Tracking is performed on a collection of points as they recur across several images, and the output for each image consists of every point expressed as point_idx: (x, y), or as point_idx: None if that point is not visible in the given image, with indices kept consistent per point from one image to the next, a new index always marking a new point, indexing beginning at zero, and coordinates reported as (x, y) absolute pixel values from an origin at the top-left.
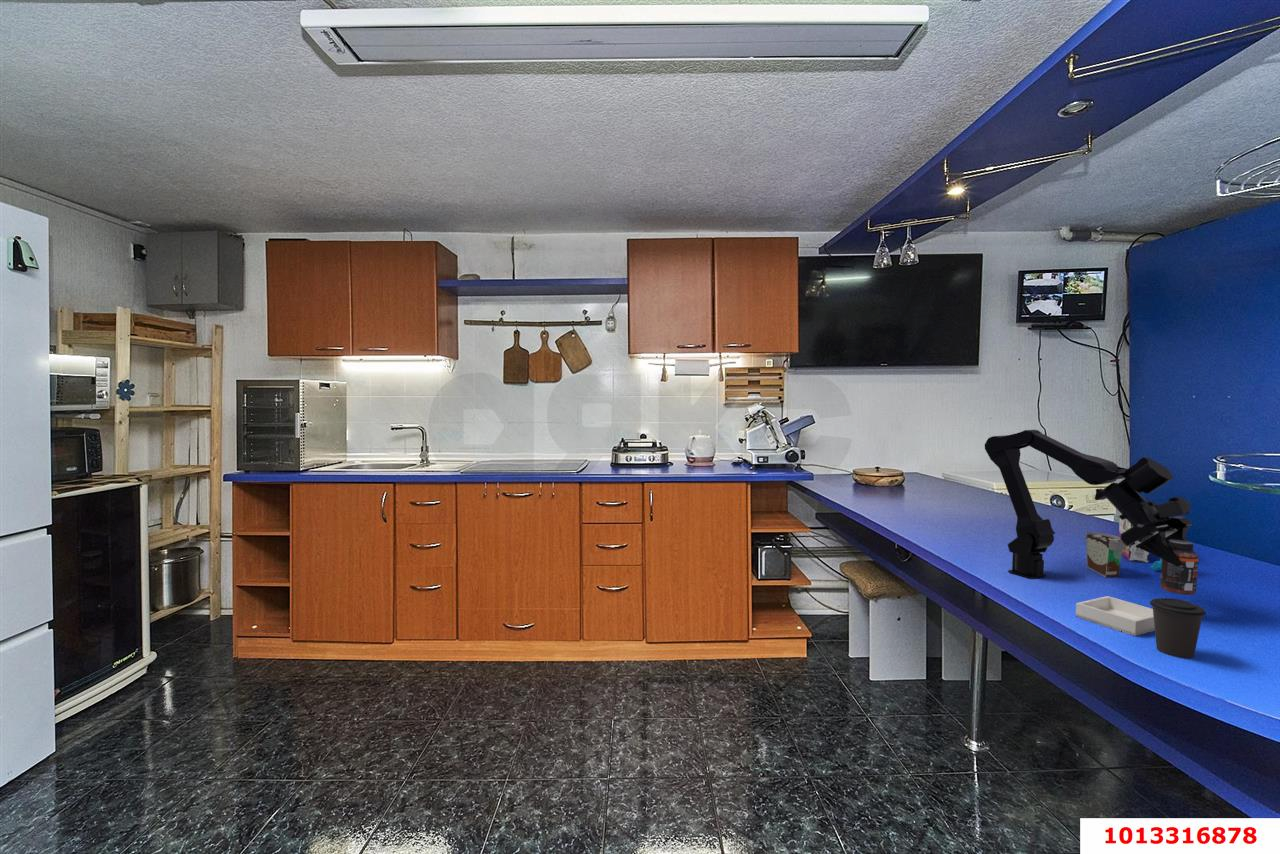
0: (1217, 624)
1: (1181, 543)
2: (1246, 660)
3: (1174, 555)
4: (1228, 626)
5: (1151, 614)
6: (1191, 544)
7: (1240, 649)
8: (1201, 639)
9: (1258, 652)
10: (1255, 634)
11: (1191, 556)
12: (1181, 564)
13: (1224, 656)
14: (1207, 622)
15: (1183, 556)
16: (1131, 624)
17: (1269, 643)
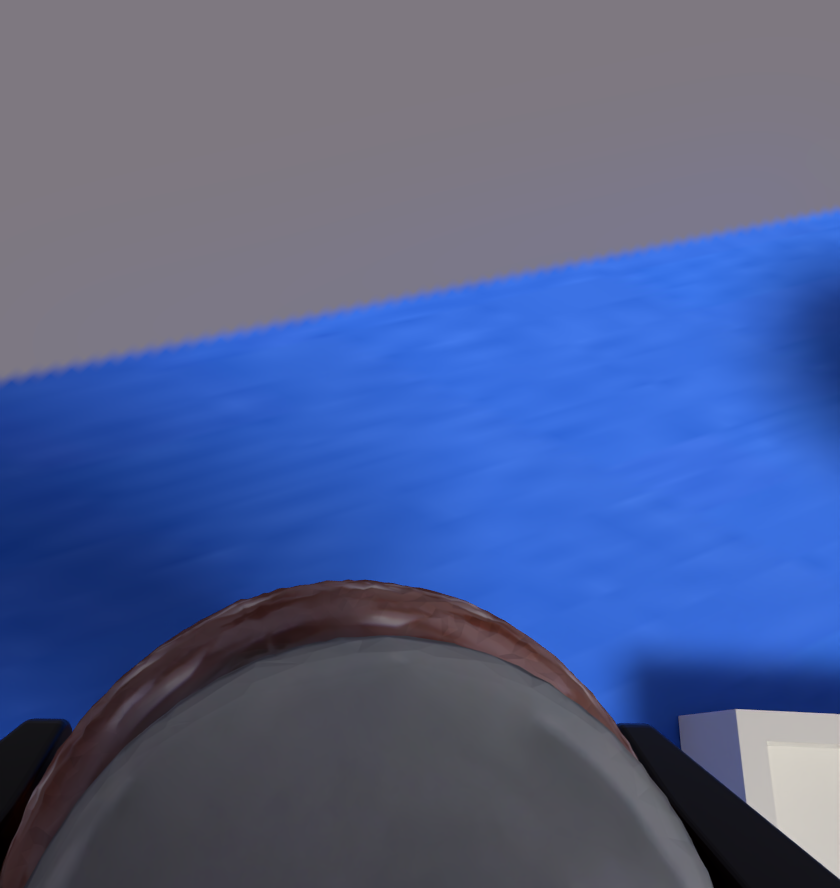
0: (263, 571)
1: (685, 849)
2: (764, 297)
3: (785, 847)
4: (242, 517)
5: None
6: (423, 644)
7: (635, 352)
8: (683, 509)
9: (591, 296)
10: (268, 382)
11: (501, 623)
12: (642, 724)
13: (817, 362)
14: None
15: (616, 728)
16: None
17: (378, 303)
